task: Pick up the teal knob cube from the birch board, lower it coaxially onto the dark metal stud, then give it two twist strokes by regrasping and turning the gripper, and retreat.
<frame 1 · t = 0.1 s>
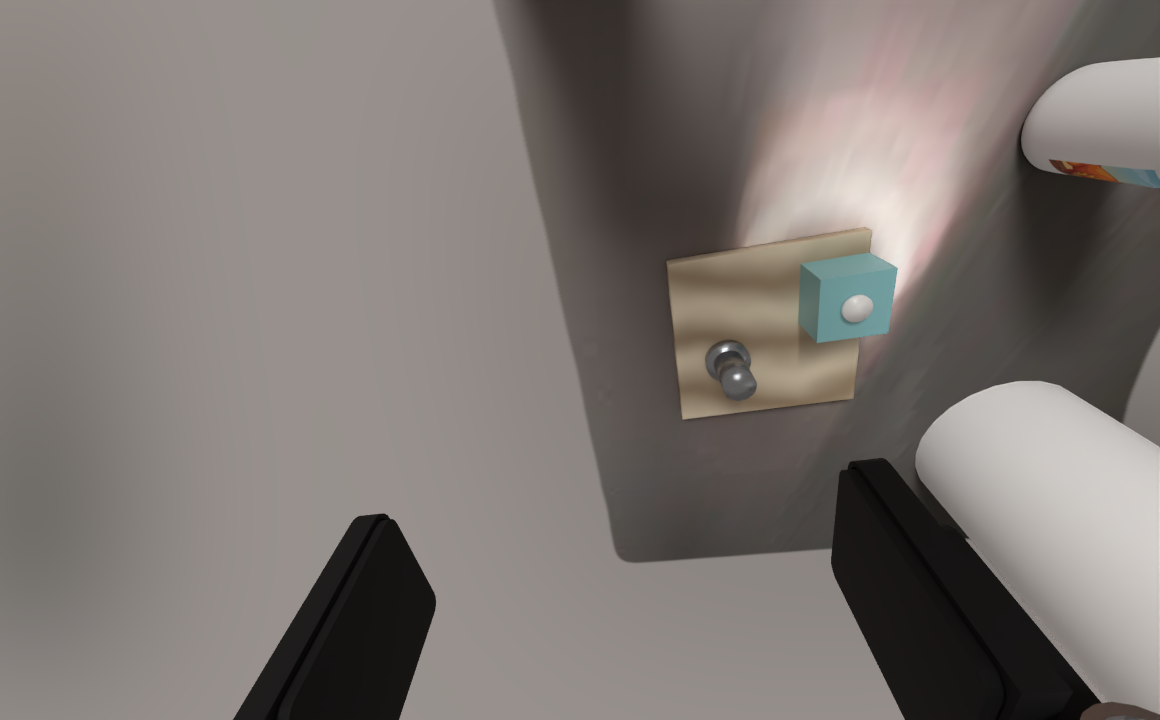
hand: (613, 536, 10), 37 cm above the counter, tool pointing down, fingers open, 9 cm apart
teal knob cube: (832, 288, 44), point 1 cm above the counter, touching board
board: (762, 330, 47), on the counter
milk bottle: (1068, 119, 37), on the counter
stud: (723, 353, 49), resting on board
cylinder: (995, 443, 53), on the counter
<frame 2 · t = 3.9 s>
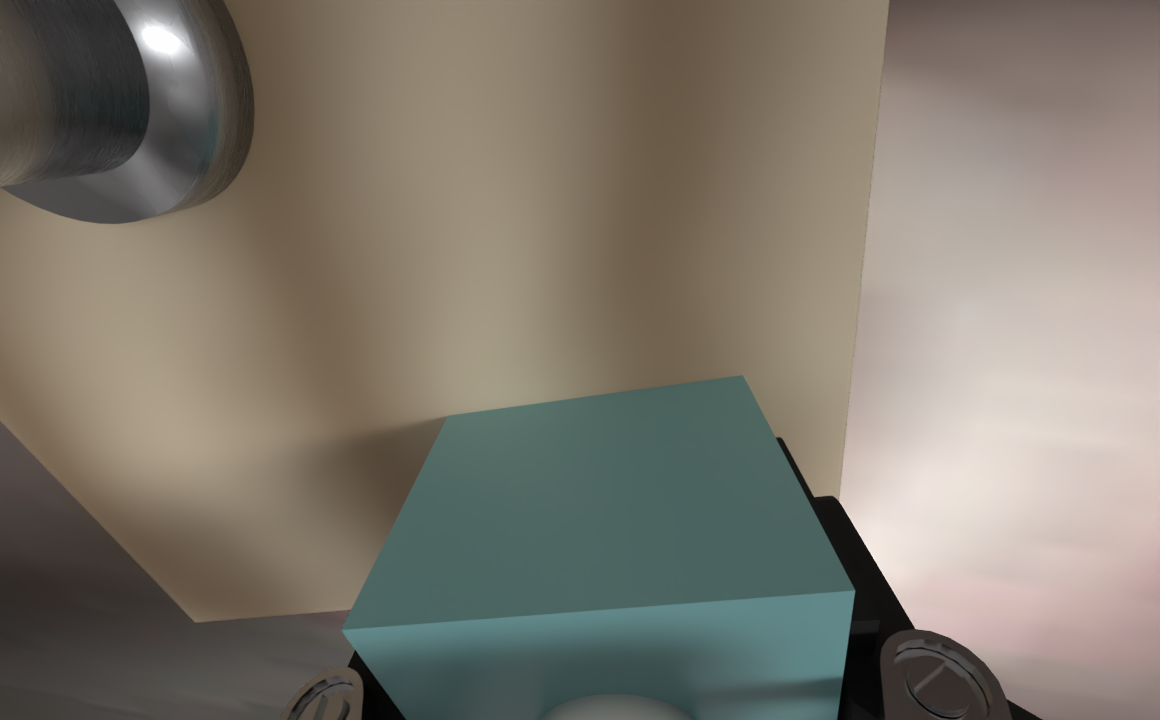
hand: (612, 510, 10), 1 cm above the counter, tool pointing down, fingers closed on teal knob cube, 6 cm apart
teal knob cube: (612, 503, 11), point 1 cm above the counter, touching board, gripper
board: (371, 268, 9), on the counter
stud: (167, 62, 8), resting on board
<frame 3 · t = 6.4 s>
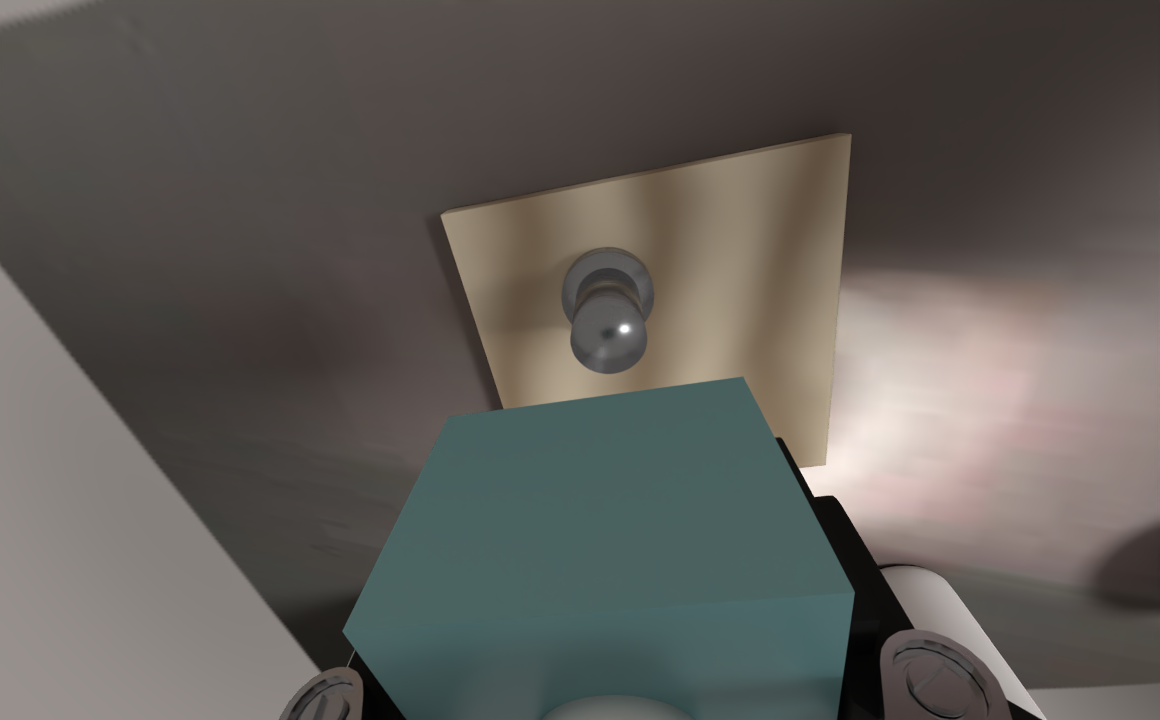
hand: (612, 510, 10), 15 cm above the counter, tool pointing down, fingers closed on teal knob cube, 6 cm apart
teal knob cube: (612, 504, 11), point 15 cm above the counter, touching gripper
board: (654, 345, 25), on the counter
milk bottle: (889, 593, 35), on the counter
stud: (607, 283, 24), resting on board
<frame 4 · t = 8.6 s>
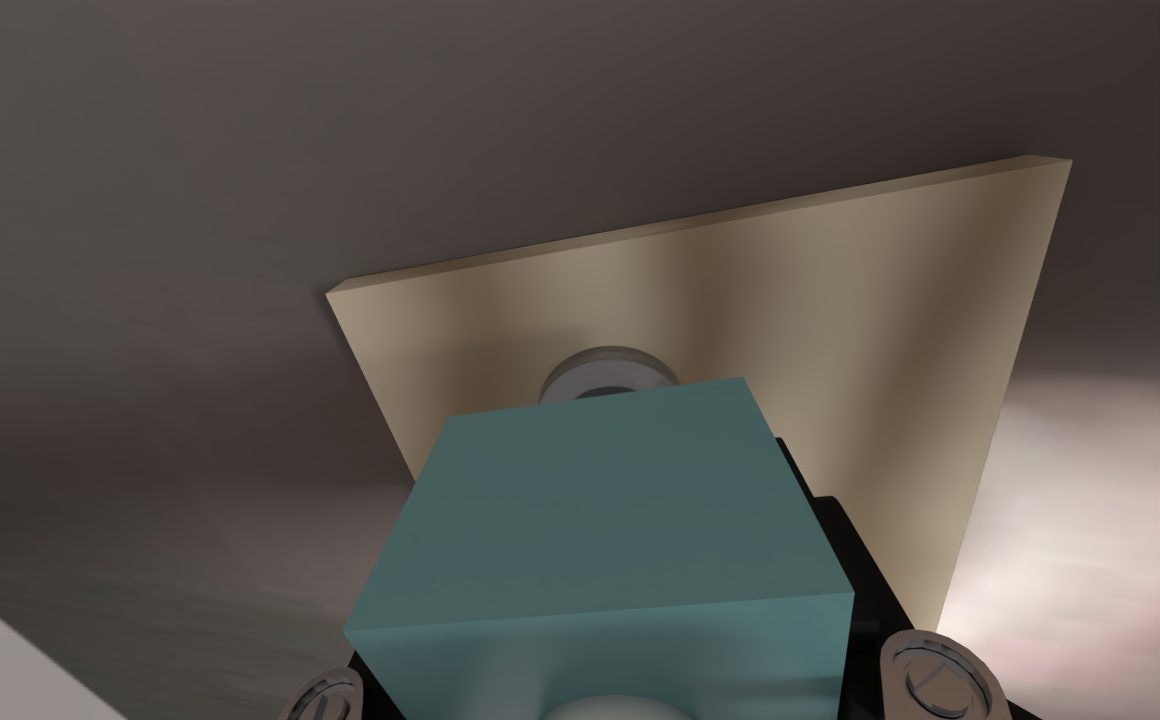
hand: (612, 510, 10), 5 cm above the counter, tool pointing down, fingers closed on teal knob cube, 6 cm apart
teal knob cube: (612, 504, 11), point 5 cm above the counter, touching gripper
board: (683, 474, 17), on the counter
stud: (610, 389, 15), resting on board
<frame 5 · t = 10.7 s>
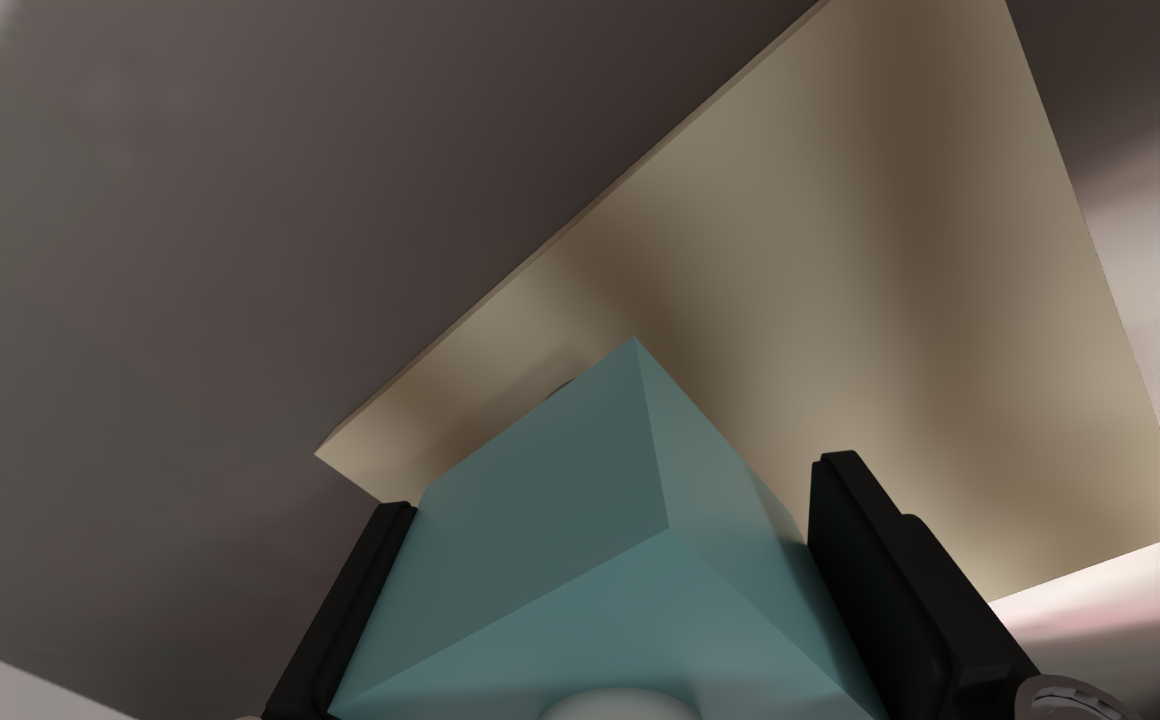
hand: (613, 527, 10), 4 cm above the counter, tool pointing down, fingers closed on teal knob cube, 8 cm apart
teal knob cube: (609, 500, 11), point 3 cm above the counter, touching gripper, stud
board: (742, 463, 14), on the counter
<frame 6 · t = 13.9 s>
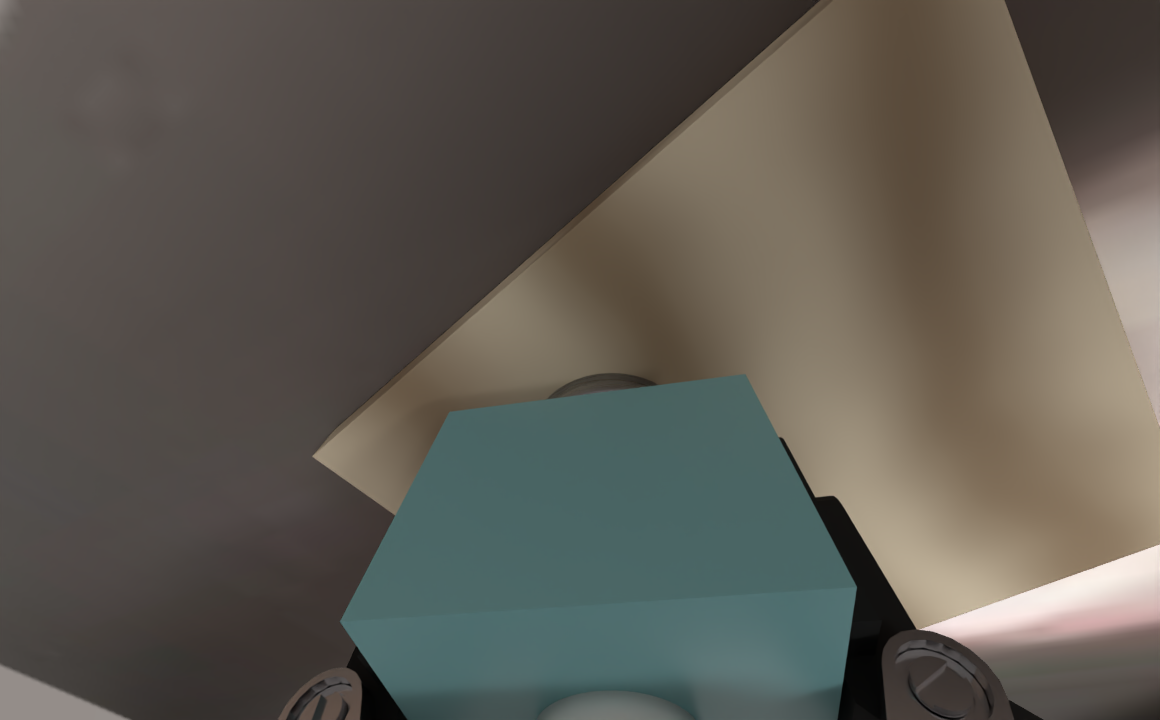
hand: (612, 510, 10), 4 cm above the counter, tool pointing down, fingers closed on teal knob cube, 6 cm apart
teal knob cube: (613, 502, 11), point 3 cm above the counter, touching gripper, stud
board: (742, 465, 14), on the counter
stud: (610, 416, 14), resting on board
when the fingers open (5 cm above the counter, at t = 15.3 s): teal knob cube drops 1 cm, resting on stud.
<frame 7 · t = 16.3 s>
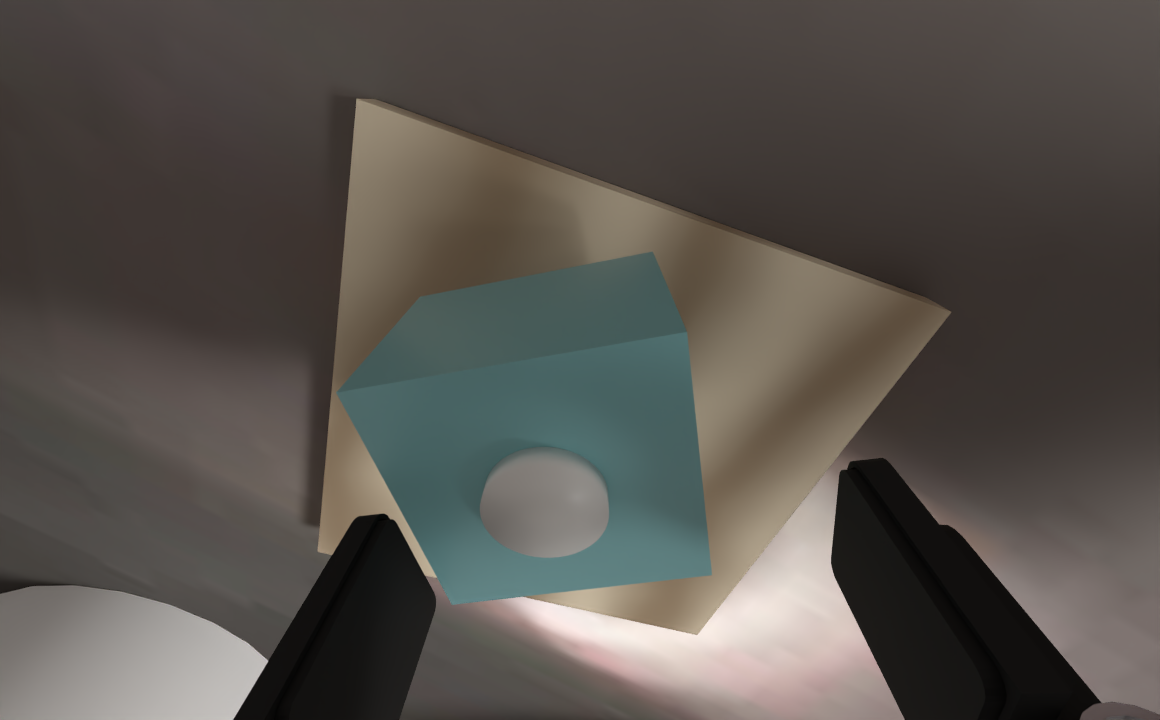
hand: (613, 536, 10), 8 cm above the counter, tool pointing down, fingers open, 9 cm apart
teal knob cube: (559, 375, 13), point 3 cm above the counter, touching stud
board: (581, 432, 18), on the counter
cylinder: (143, 673, 28), on the counter
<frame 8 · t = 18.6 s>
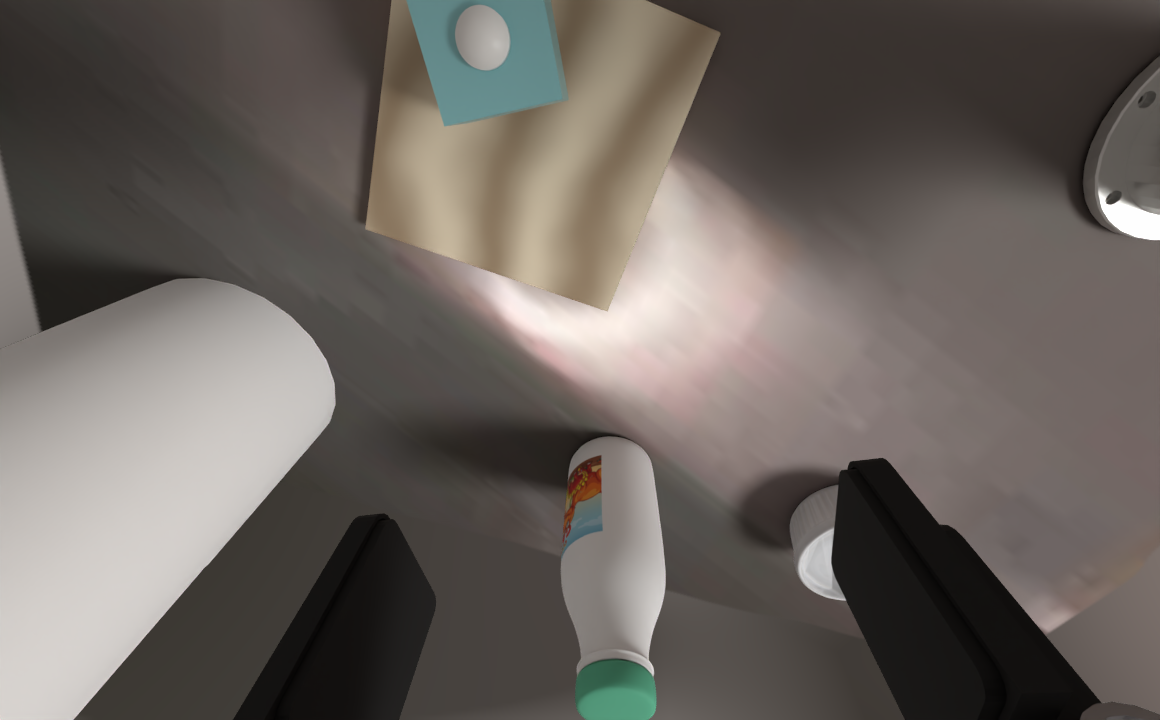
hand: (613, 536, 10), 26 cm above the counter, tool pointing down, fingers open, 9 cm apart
teal knob cube: (503, 50, 25), point 3 cm above the counter, touching stud
board: (526, 140, 30), on the counter
milk bottle: (610, 464, 43), on the counter
ramekin: (836, 514, 45), on the counter
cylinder: (236, 372, 40), on the counter
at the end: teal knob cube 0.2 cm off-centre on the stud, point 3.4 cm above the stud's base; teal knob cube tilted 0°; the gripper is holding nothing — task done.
